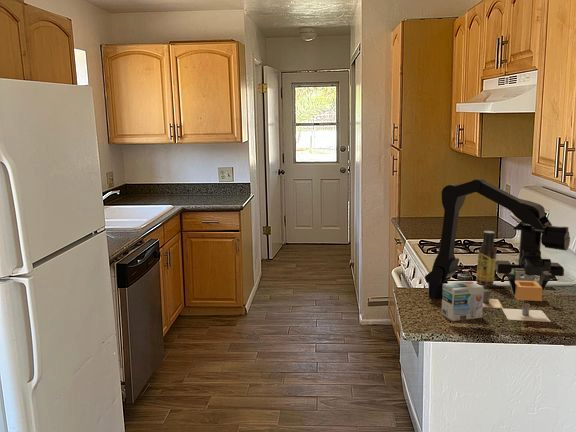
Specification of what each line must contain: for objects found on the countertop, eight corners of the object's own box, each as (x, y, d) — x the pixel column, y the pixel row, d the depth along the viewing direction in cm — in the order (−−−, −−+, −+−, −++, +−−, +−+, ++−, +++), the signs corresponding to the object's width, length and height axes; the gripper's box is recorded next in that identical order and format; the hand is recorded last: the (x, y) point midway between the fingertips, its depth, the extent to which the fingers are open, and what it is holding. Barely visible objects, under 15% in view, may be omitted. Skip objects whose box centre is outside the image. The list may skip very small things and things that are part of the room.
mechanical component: (544, 301, 184) (546, 272, 183) (512, 299, 187) (514, 271, 185) (542, 298, 187) (544, 270, 186) (510, 297, 189) (512, 269, 188)
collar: (516, 299, 166) (517, 286, 165) (511, 292, 172) (512, 280, 172) (541, 301, 164) (542, 288, 164) (535, 293, 171) (536, 281, 170)
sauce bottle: (472, 281, 208) (475, 230, 204) (486, 280, 209) (489, 229, 206) (483, 286, 201) (486, 233, 198) (498, 285, 203) (501, 232, 200)
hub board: (508, 322, 166) (508, 308, 165) (501, 311, 175) (502, 297, 175) (550, 324, 164) (551, 310, 163) (541, 313, 173) (542, 299, 172)
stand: (473, 309, 177) (474, 294, 176) (469, 300, 186) (470, 286, 185) (502, 310, 176) (503, 295, 175) (497, 301, 184) (498, 287, 184)
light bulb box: (452, 324, 165) (454, 289, 163) (440, 316, 171) (441, 283, 169) (483, 320, 168) (485, 286, 166) (470, 313, 174) (471, 280, 172)
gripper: (502, 250, 159) (499, 302, 162) (572, 253, 156) (567, 305, 159) (495, 242, 170) (492, 290, 173) (560, 244, 167) (556, 293, 170)
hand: (526, 295), depth 168 cm, fingers closed on collar, 7 cm apart
